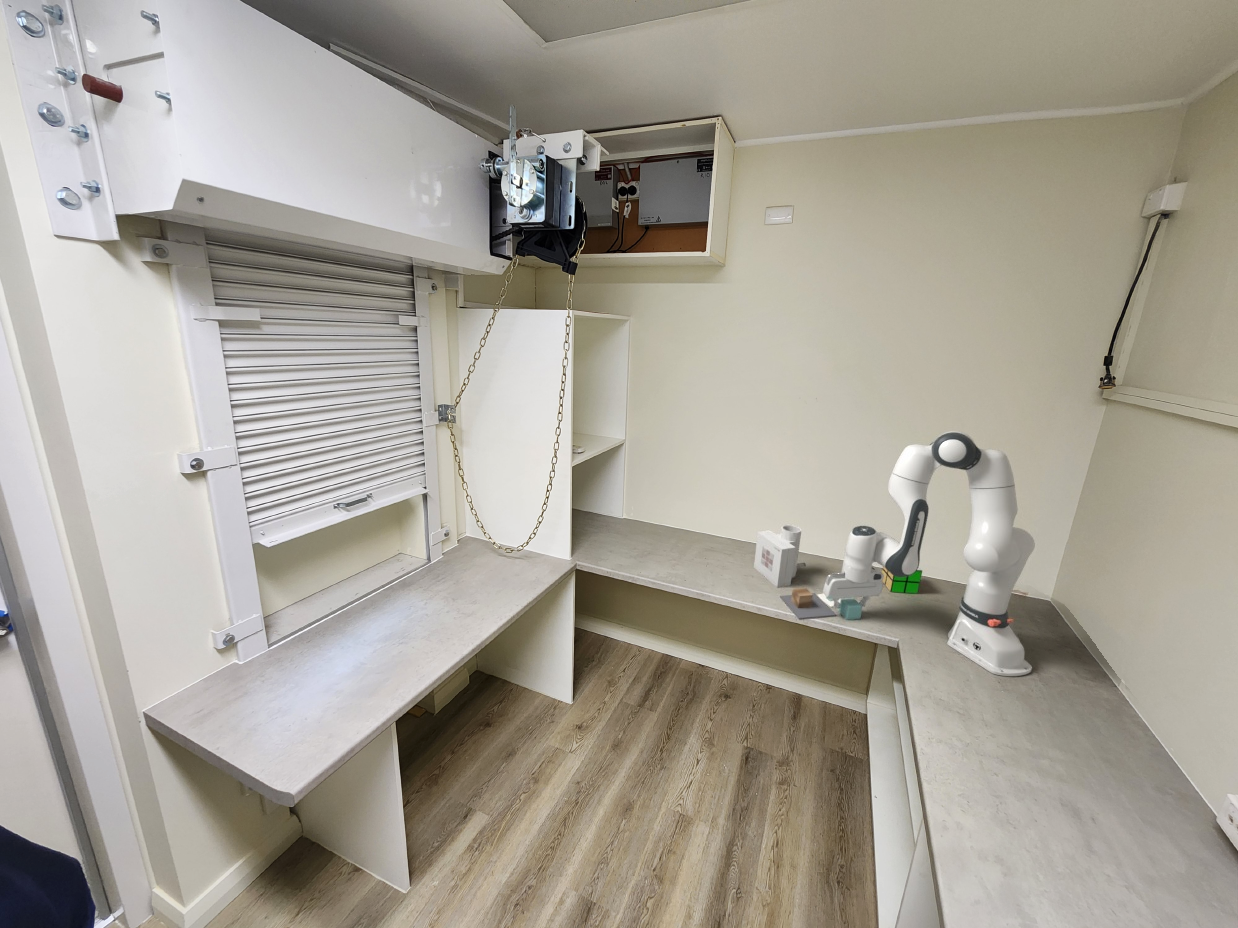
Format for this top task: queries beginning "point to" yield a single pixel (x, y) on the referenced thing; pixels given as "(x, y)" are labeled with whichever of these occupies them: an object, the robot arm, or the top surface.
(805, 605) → the walnut cube
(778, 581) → the white boxy appliance
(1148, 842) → the top surface
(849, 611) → the teal cube
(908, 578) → the puzzle cube
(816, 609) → the mat
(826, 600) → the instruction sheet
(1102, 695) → the top surface
